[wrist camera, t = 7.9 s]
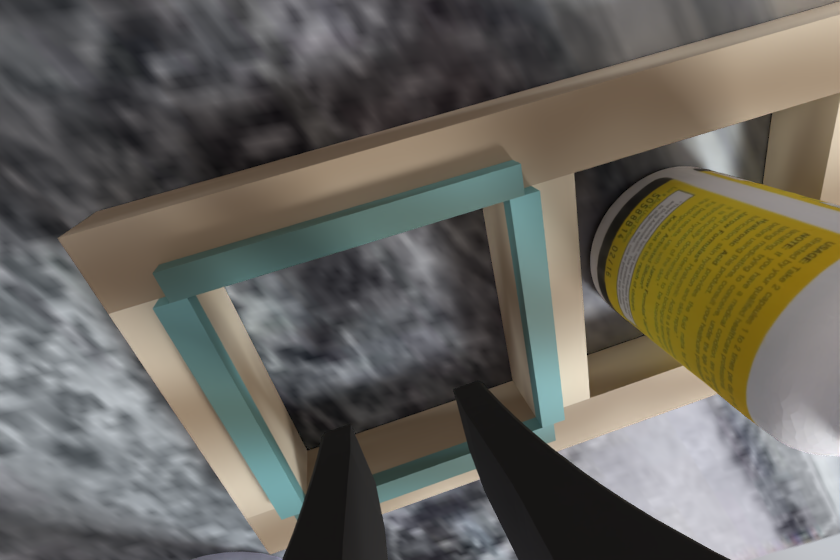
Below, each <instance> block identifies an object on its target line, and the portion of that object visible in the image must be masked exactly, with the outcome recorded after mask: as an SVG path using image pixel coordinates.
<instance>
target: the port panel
mask: <svg viewBox="0 0 840 560" xmlns="http://www.w3.org/2000/svg"><path fill="white" fill-rule="evenodd" d="M770 113H772V119H771V126H770V134H769V141H768V149H767V156H766V164H765V171H764V179H763V185H767V186H770V187H773V188H777V189H780V190H784V191H787V192H792V193H796V194H799V195H802V196H805V197H809V198H813V199H817V200H821V201H825V202H828V203H832V204H835V205H839V206H840V1H839V2H835V3H832V4H828V5H825V6H821V7H818V8H814V9H811V10H807V11H804V12H800V13H796V14H793V15H789V16H786V17H782V18H779V19H775V20H772V21H768V22H765V23H761V24H758V25H754V26H751V27H747V28H743V29H740V30H736V31H733V32H729V33H726V34H722V35H719V36H715V37H712V38H708V39H705V40H701V41H698V42H694V43H690V44H687V45H683V46H680V47H676V48H673V49H669V50H666V51H662V52H659V53H655V54H652V55H648V56H645V57H641V58H638V59H634V60H630V61H627V62H623V63H620V64H616V65H613V66H609V67H606V68H602V69H599V70H595V71H592V72H588V73H585V74H581V75H577V76H574V77H570V78H567V79H563V80H560V81H556V82H553V83H549V84H546V85H542V86H539V87H535V88H532V89H528V90H524V91H521V92H517V93H514V94H510V95H507V96H503V97H500V98H496V99H493V100H489V101H486V102H482V103H479V104H475V105H471V106H468V107H464V108H461V109H457V110H454V111H450V112H447V113H443V114H440V115H436V116H433V117H429V118H426V119H422V120H418V121H415V122H411V123H408V124H404V125H401V126H397V127H394V128H390V129H387V130H383V131H380V132H376V133H373V134H369V135H366V136H362V137H358V138H355V139H351V140H348V141H344V142H341V143H337V144H334V145H330V146H327V147H323V148H320V149H316V150H313V151H309V152H305V153H302V154H298V155H295V156H291V157H288V158H284V159H281V160H277V161H274V162H270V163H267V164H263V165H260V166H256V167H252V168H249V169H245V170H242V171H238V172H235V173H231V174H228V175H224V176H221V177H217V178H214V179H210V180H207V181H203V182H199V183H196V184H192V185H189V186H185V187H182V188H178V189H175V190H171V191H168V192H164V193H161V194H157V195H154V196H150V197H146V198H143V199H139V200H136V201H132V202H129V203H125V204H122V205H118V206H115V207H111V208H108V209H104V210H101V211H97V212H95V213H94V214H92V215H91V216H89V217H88V218H87V219H85V220H84V221H82V222H81V223H79V224H78V225H76V226H75V227H73V228H72V229H70V230H69V231H67V232H66V233H65V234H63V235H62V236H60V237H59V238H58V240H59V241H60V243H61V244H62V246H63V247H64V249H65V250H66V252H67V253H68V254H69V256H70V257H71V259H72V260H73V262H74V263H75V265H76V266H77V268H78V269H79V271H80V272H81V274H82V275H83V277H84V278H85V280H86V281H87V283H88V284H89V286H90V287H91V289H92V290H93V292H94V293H95V295H96V296H97V298H98V299H99V301H100V302H101V304H102V305H103V307H104V308H105V310H106V311H107V313H108V314H109V316H110V317H111V319H112V320H113V322H114V323H115V325H116V326H117V327H118V329H119V330H120V332H121V333H122V335H123V336H124V338H125V339H126V341H127V342H128V344H129V345H130V347H131V348H132V350H133V351H134V353H135V354H136V356H137V357H138V359H139V360H140V362H141V363H142V365H143V366H144V368H145V369H146V371H147V372H148V374H149V375H150V377H151V378H152V380H153V381H154V383H155V384H156V386H157V387H158V389H159V390H160V392H161V393H162V395H163V396H164V397H165V399H166V400H167V402H168V403H169V405H170V406H171V408H172V409H173V411H174V412H175V414H176V415H177V417H178V418H179V420H180V421H181V423H182V424H183V426H184V427H185V429H186V430H187V432H188V433H189V435H190V436H191V438H192V439H193V441H194V442H195V444H196V445H197V447H198V448H199V450H200V451H201V453H202V454H203V456H204V457H205V459H206V460H207V462H208V463H209V465H210V466H211V468H212V469H213V470H214V472H215V473H216V475H217V476H218V478H219V479H220V481H221V482H222V484H223V485H224V487H225V488H226V490H227V491H228V493H229V494H230V496H231V497H232V499H233V500H234V502H235V503H236V505H237V506H238V508H239V509H240V511H241V512H242V514H243V515H244V517H245V518H246V520H247V521H248V523H249V524H250V526H251V527H252V529H253V530H254V532H255V533H256V535H257V536H258V538H259V539H260V540H261V542H262V543H263V545H264V546H265V548H266V549H267V551H268V552H269V554H273V553H276V552H278V551H281V550H284V549H287V546H288V544H289V541H290V539H291V536H292V534H293V531H294V528H295V525H296V522H297V519H298V516H299V514H300V511H301V508H302V505H303V502H304V499H305V496H306V493H307V489H308V486H309V483H310V480H311V476H312V473H313V469H314V466H315V462H316V459H317V455H318V451H319V447H317V448H314V449H311V450H308V451H307V449H306V447H305V445H304V443H303V441H302V440H301V438H300V436H299V434H298V432H297V430H296V428H295V426H294V424H293V422H292V420H291V418H290V416H289V414H288V412H287V410H286V408H285V406H284V404H283V402H282V400H281V398H280V396H279V394H278V392H277V390H276V388H275V386H274V384H273V382H272V380H271V378H270V377H269V375H268V373H267V371H266V369H265V367H264V365H263V363H262V361H261V359H260V357H259V355H258V353H257V351H256V349H255V347H254V345H253V343H252V341H251V339H250V337H249V335H248V333H247V331H246V329H245V327H244V325H243V323H242V321H241V319H240V317H239V315H238V314H237V312H236V310H235V308H234V306H233V304H232V302H231V300H230V298H229V296H228V294H227V292H226V290H225V288H224V287H225V286H228V285H232V284H235V283H238V282H242V281H245V280H248V279H251V278H255V277H258V276H261V275H265V274H268V273H271V272H274V271H278V270H281V269H284V268H288V267H291V266H294V265H297V264H301V263H304V262H307V261H311V260H314V259H317V258H320V257H324V256H327V255H330V254H334V253H337V252H340V251H343V250H347V249H350V248H353V247H357V246H360V245H363V244H366V243H370V242H373V241H376V240H380V239H383V238H386V237H389V236H393V235H396V234H399V233H403V232H406V231H409V230H412V229H416V228H419V227H422V226H426V225H429V224H432V223H435V222H439V221H442V220H445V219H449V218H452V217H455V216H458V215H462V214H465V213H468V212H471V211H475V210H478V209H481V208H482V209H483V215H484V220H485V226H486V232H487V237H488V243H489V249H490V255H491V260H492V266H493V272H494V277H495V283H496V289H497V294H498V300H499V306H500V312H501V317H502V323H503V329H504V334H505V340H506V346H507V351H508V357H509V363H510V369H511V374H512V380H513V381H510V382H507V383H504V384H501V385H499V386H496V387H493V388H490V389H489V390H490V392H491V393H492V394H493V395H494V396H495V397H496V398H497V399H498V400H499V401H500V402H501V403H502V404H503V405H504V406H505V407H506V408H507V409H508V410H509V411H510V412H511V413H512V414H513V415H514V416H516V417H517V418H518V419H519V420H520V421H521V422H522V423H523V424H524V425H525V426H527V427H528V428H529V429H530V430H531V431H532V432H534V433H535V434H536V435H537V436H538V437H540V438H541V439H542V440H543V441H544V442H545V443H547V444H548V445H549V446H550V447H552V448H553V449H554V450H555V451H560V450H562V449H565V448H568V447H571V446H573V445H576V444H579V443H582V442H585V441H587V440H590V439H593V438H596V437H599V436H601V435H604V434H607V433H610V432H612V431H615V430H618V429H621V428H624V427H626V426H629V425H632V424H635V423H638V422H640V421H643V420H646V419H649V418H651V417H654V416H657V415H660V414H663V413H665V412H668V411H671V410H674V409H677V408H679V407H682V406H685V405H688V404H690V403H693V402H696V401H699V400H702V399H704V398H707V397H710V396H713V395H715V394H718V393H716V392H715V391H714V390H713V389H712V388H710V387H709V386H708V385H707V384H705V383H704V382H703V381H702V380H700V379H699V378H698V377H697V376H695V375H694V374H693V373H692V372H690V371H689V370H688V369H686V368H685V367H684V366H683V365H682V364H681V363H679V362H678V361H677V360H676V359H674V358H673V357H672V356H671V355H669V354H668V353H667V352H665V351H664V350H663V349H662V348H660V347H659V346H658V345H657V344H656V343H654V342H653V341H651V340H650V339H649V338H648V337H647V336H646V335H645V336H642V337H639V338H636V339H633V340H630V341H627V342H624V343H621V344H619V345H616V346H613V347H610V348H607V349H604V350H601V351H598V352H595V353H592V354H589V355H587V349H586V335H585V320H584V306H583V292H582V278H581V264H580V249H579V235H578V221H577V207H576V193H575V178H574V173H575V172H579V171H582V170H585V169H589V168H592V167H595V166H598V165H602V164H605V163H608V162H612V161H615V160H618V159H622V158H625V157H628V156H631V155H635V154H638V153H641V152H645V151H648V150H651V149H655V148H658V147H661V146H664V145H668V144H671V143H674V142H678V141H681V140H684V139H688V138H691V137H694V136H697V135H701V134H704V133H707V132H711V131H714V130H717V129H721V128H724V127H727V126H730V125H734V124H737V123H740V122H744V121H747V120H750V119H754V118H757V117H760V116H763V115H767V114H770ZM355 435H356V438H357V440H358V442H359V445H360V447H361V449H362V452H363V454H364V457H365V459H366V461H367V464H368V466H369V468H370V471H371V473H372V475H373V478H374V480H375V482H376V487H377V492H378V497H379V502H380V507H381V512H382V514H384V513H387V512H390V511H393V510H395V509H398V508H401V507H404V506H406V505H409V504H412V503H415V502H418V501H420V500H423V499H426V498H429V497H432V496H434V495H437V494H440V493H443V492H445V491H448V490H451V489H454V488H457V487H459V486H462V485H465V484H468V483H470V482H473V481H476V480H479V479H480V478H479V475H478V472H477V470H476V467H475V464H474V462H473V459H472V456H471V454H470V451H469V448H468V444H467V440H466V436H465V433H464V429H463V425H462V421H461V417H460V413H459V409H458V406H457V402H456V400H455V401H452V402H449V403H446V404H443V405H440V406H437V407H434V408H431V409H428V410H425V411H422V412H419V413H417V414H414V415H411V416H408V417H405V418H402V419H399V420H396V421H393V422H390V423H387V424H384V425H381V426H378V427H376V428H373V429H370V430H367V431H364V432H361V433H358V434H355Z"/></svg>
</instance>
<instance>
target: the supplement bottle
mask: <svg viewBox="0 0 840 560" xmlns="http://www.w3.org/2000/svg"><path fill="white" fill-rule="evenodd" d="M590 268H591V275H592V279H593V282H594V285H595V287H596V289H597V291H598V293H599V294H600V296H601V297H602V298H603V300H604V301H605V302H606V303H607V304H609V305H610V306H611V307H612V308H613V309H614V310H615V311H616V312H617V313H619V314H620V315H621V316H622V317H623V318H624V319H626V320H627V321H628V322H630V323H631V324H632V325H633V326H635V327H636V328H637V329H638V330H640V331H641V332H642V333H643V334H645V335H646V336H647V337H648V338H649V339H650V340H651V341H653V342H654V343H656V344H657V345H658V346H659V347H660V348H662V349H663V350H664V351H665V352H667V353H668V354H669V355H671V356H672V357H673V358H674V359H676V360H677V361H678V362H679V363H681V364H682V365H683V366H684V367H685V368H686V369H688V370H689V371H690V372H692V373H693V374H694V375H695V376H697V377H698V378H699V379H700V380H702V381H703V382H704V383H705V384H707V385H708V386H709V387H710V388H712V389H713V390H714V391H715V392H716V393H718V394H719V395H720V396H721V397H722V398H724V399H725V400H726V401H727V402H729V403H730V404H731V405H732V406H733V407H734V408H736V409H737V410H738V411H740V412H741V413H742V414H743V415H744V416H746V417H747V418H748V419H750V420H751V421H752V422H754V423H755V424H756V425H757V426H759V427H760V428H761V429H763V430H764V431H766V432H767V433H769V434H770V435H771V436H773V437H774V438H775V439H777V440H778V441H780V442H782V443H783V444H785V445H787V446H789V447H791V448H794V449H797V450H800V451H803V452H806V453H810V454H815V455H823V456H840V206H839V205H835V204H832V203H828V202H825V201H821V200H817V199H813V198H809V197H805V196H802V195H799V194H796V193H792V192H787V191H784V190H780V189H777V188H773V187H770V186H767V185H763V184H759V183H755V182H752V181H749V180H745V179H741V178H738V177H734V176H730V175H727V174H723V173H718V172H715V171H711V170H708V169H703V168H697V167H691V166H680V167H672V168H667V169H663V170H660V171H657V172H655V173H653V174H650V175H649V176H647V177H645V178H643V179H641V180H640V181H638V182H637V183H635V184H634V185H633V186H631V187H630V188H629V189H627V190H626V191H625V192H624V193H623V194H622V195H621V196H620V197H619V198H618V199H617V200H616V201H615V202H614V203H613V204H612V206H611V207H610V208H609V209H608V211H607V212H606V214H605V215H604V217H603V219H602V221H601V223H600V225H599V227H598V229H597V232H596V234H595V237H594V240H593V244H592V248H591V255H590Z"/></svg>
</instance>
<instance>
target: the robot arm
mask: <svg viewBox="0 0 840 560" xmlns="http://www.w3.org/2000/svg"><path fill="white" fill-rule="evenodd" d="M453 390H454V394H455V398H456V402H457V406H458V409H459V413H460V417H461V421H462V425H463V429H464V433H465V436H466V440H467V444H468V448H469V451H470V454H471V456H472V459H473V462H474V464H475V467H476V470H477V472H478V475H479V478H480V480H481V483H482V485H483V488H484V491H485V493H486V495H487V497H488V499H489V501H490V503H491V505H492V507H493V509H494V511H495V513H496V515H497V517H498V519H499V521H500V523H501V525H502V527H503V529H504V531H505V533H506V535H507V537H508V539H509V541H510V543H511V545H512V547H513V549H514V551H515V554H516V556H517V558H518V560H730V559H728V558H726V557H724V556H722V555H720V554H718V553H716V552H714V551H713V550H711V549H709V548H707V547H705V546H703V545H702V544H700V543H698V542H696V541H694V540H693V539H691V538H689V537H687V536H685V535H684V534H682V533H680V532H678V531H676V530H675V529H673V528H671V527H669V526H667V525H666V524H664V523H662V522H660V521H658V520H657V519H655V518H653V517H652V516H650V515H648V514H647V513H645V512H643V511H642V510H640V509H639V508H637V507H635V506H634V505H632V504H631V503H629V502H627V501H626V500H624V499H623V498H621V497H620V496H618V495H616V494H615V493H613V492H612V491H610V490H609V489H607V488H606V487H604V486H603V485H601V484H600V483H599V482H597V481H596V480H594V479H593V478H591V477H590V476H589V475H587V474H586V473H584V472H583V471H582V470H580V469H579V468H578V467H576V466H575V465H574V464H572V463H571V462H570V461H568V460H567V459H566V458H564V457H563V456H562V455H560V454H559V453H558V452H557V451H555V450H554V449H553V448H552V447H550V446H549V445H548V444H547V443H545V442H544V441H543V440H542V439H541V438H540V437H538V436H537V435H536V434H535V433H534V432H532V431H531V430H530V429H529V428H528V427H527V426H525V425H524V424H523V423H522V422H521V421H520V420H519V419H518V418H517V417H516V416H514V415H513V414H512V413H511V412H510V411H509V410H508V409H507V408H506V407H505V406H504V405H503V404H502V403H501V402H500V401H499V400H498V399H497V398H496V397H495V396H494V395H493V394H492V393H491V392H490V390H489V389H488V388H487V387H486V386H485V385H484V383H482V382H480V381H476V382H473V383H470V384H467V385H464V386H461V387H458V388H455V389H453ZM191 560H388V558H387V547H386V537H385V527H384V522H383V517H382V512H381V507H380V502H379V497H378V492H377V487H376V482H375V480H374V478H373V475H372V473H371V471H370V468H369V466H368V464H367V461H366V459H365V457H364V454H363V452H362V449H361V447H360V445H359V442H358V440H357V438H356V435H355V433H354V431H353V428H352V426H351V424H349V425H346V426H343V427H340V428H337V429H335V430H332V431H329V432H326V433H324V435H323V437H322V438H321V443H320V447H319V451H318V455H317V459H316V462H315V466H314V469H313V473H312V476H311V480H310V483H309V486H308V489H307V493H306V496H305V499H304V502H303V505H302V508H301V511H300V514H299V516H298V519H297V522H296V525H295V528H294V531H293V534H292V536H291V539H290V541H289V544H288V546H287V549H286V552H285V554H284V557H283V559H282V558H279V557H277V556H272V555H268V554H264V553H256V552H244V551H242V552H223V553H217V554H211V555H205V556H201V557H198V558H195V559H191Z"/></svg>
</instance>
